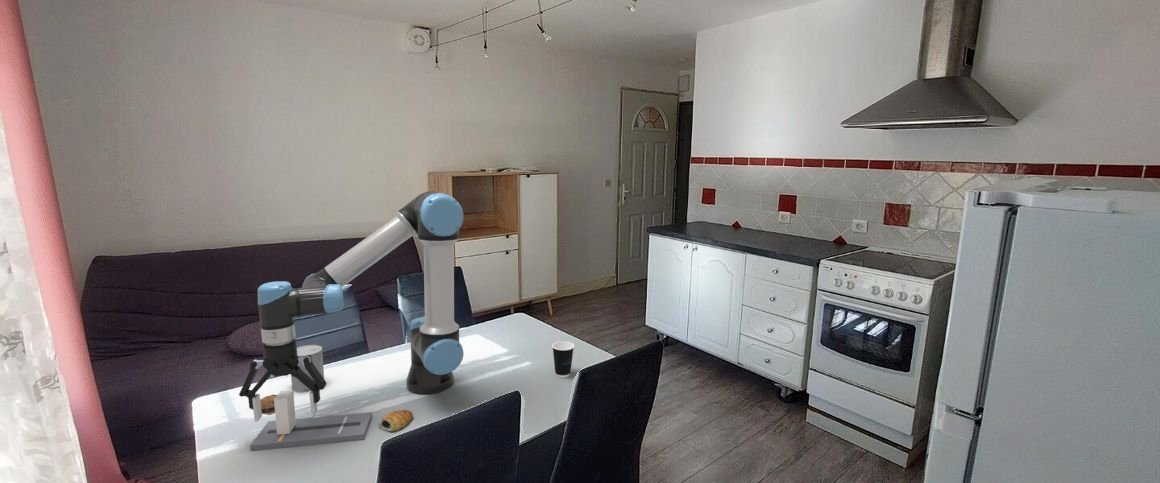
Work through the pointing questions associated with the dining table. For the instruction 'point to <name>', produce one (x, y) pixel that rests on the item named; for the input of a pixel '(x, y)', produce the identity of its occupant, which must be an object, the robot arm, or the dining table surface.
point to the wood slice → (268, 404)
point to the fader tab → (285, 412)
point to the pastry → (395, 420)
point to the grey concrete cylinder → (316, 359)
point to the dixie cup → (563, 358)
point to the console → (315, 431)
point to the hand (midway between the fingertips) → (286, 416)
